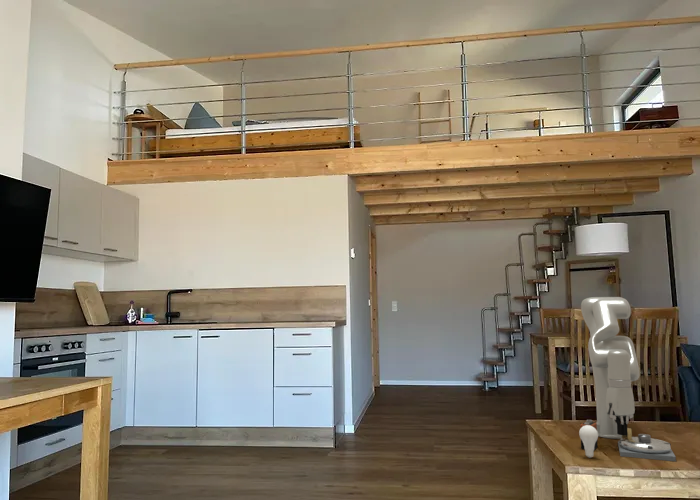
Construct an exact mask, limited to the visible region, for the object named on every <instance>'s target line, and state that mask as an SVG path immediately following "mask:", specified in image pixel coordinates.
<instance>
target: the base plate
mask: <svg viewBox="0 0 700 500" xmlns="http://www.w3.org/2000/svg"><path fill="white" fill-rule="evenodd" d="M617 446H618V451H619V455H620V457H626V458H636V459H637V458H638V459H646V460H657V461H658V460H659V461H670V462H677V459H676V458H677V457H676V455H675V453H674V451H673V450H672V449H671V451H670V452H668V453H643V452H636V451H631V450H628V449H625V448H623V447H621V446H620V440H618V441H617Z"/></svg>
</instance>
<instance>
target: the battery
mask: <svg viewBox="0 0 700 500" xmlns="http://www.w3.org/2000/svg"><path fill="white" fill-rule="evenodd" d="M585 425H590V426H592V427H594V428H595V429H596V430H597V424H596V422H594V421H593V420H592V419H586V421H584V422H582V423H581V424H580V425H579V427H580V428H579V430H580V429H581V428H582V427H583V426H585ZM598 443H599V442H598V440H597V441H596V443H595V445H594V450H596V449H597V448H598V447H599V445H598ZM580 447H581V450H584V451H585V449H584V444H583V441H582V440H581V439H580Z"/></svg>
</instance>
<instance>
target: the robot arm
mask: <svg viewBox="0 0 700 500" xmlns="http://www.w3.org/2000/svg"><path fill="white" fill-rule="evenodd" d="M580 309H581V310H580V311H581V315H582V318H583V321H584V323H585V324H586V327H587V328H588V331H589V334H590V335H589V336H590V337H589V340H588V343H587V344H588V345H587V346H588V347H587V348H588V349H587V350H588V356H589V360H590V364H591V369H592V373H593V379H594V387H595V402H596V404H595V405H596V422H595V423H596V424H597V432H598V438H599V437H601V438H604V439H614V440H615V439H616V440H617V439H618V440H620V439H621V438H622V435H623V436H625V435H628V432H627V428H628V424H629V420H631V419H633V417H634V414H635V410H636V408H635V398H634V393H633V388H632V382H636V381H637V380H638V379H639V377H640V367H639V361H638V358H637V353H636V349H635V344H634V342H633V340H632V339H631V338H630V337H628V336H625V335H619V333H620V326H619V322H618V320H627V319H629V318H630V317H631V315H632V314H631V313H632V309H631V305H630V303H629V301H628V300H627V299H626V298H623V297H621V296H593V297H586V298H585V299H583V300H582V301H581V304H580Z"/></svg>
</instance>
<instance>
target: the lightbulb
mask: <svg viewBox="0 0 700 500" xmlns="http://www.w3.org/2000/svg"><path fill="white" fill-rule="evenodd" d="M578 434H579V438H580V441H581V440H582V441H583V444H584V449H585V450H584V452H585V456H586V457H587V458H589V459H591V458H593V457H594V455H595V454H594V453H595V452H594V451H595V449H594V445H595V443H596V441H597V442H598V438H599V436H598V432H597V430H596V429H595V428H594V427H592V426H590V425H585V426H583V427H582V428H581V429H580V428H579V432H578Z"/></svg>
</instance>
